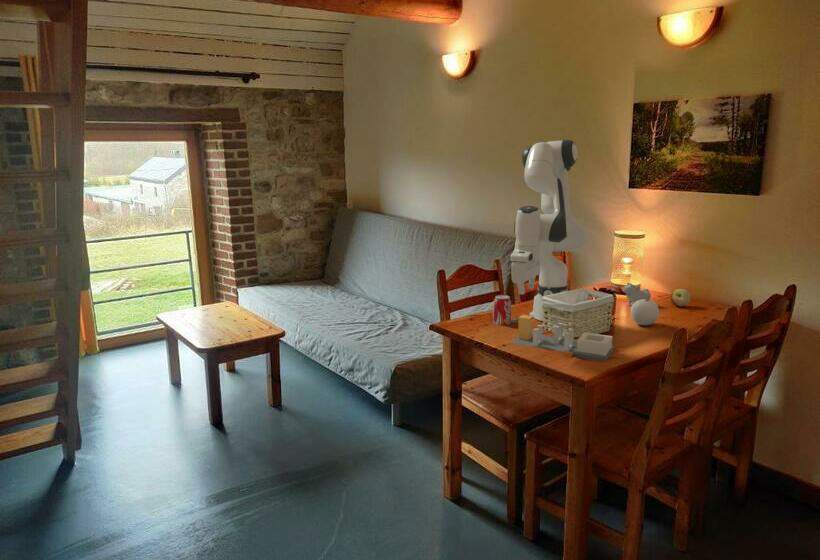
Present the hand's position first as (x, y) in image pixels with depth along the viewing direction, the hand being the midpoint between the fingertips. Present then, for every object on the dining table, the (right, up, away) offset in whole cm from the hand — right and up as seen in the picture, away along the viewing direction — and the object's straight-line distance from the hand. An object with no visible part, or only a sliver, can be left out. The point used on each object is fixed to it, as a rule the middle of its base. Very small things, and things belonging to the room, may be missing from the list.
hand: (526, 291), depth 215 cm
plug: (-1, -17, +5) cm, 18 cm away
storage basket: (+22, -16, +15) cm, 31 cm away
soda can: (-5, -14, +24) cm, 29 cm away
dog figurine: (+58, -8, +50) cm, 77 cm away
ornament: (+51, -14, +23) cm, 57 cm away
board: (+11, -20, -3) cm, 23 cm away
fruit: (+77, -8, +49) cm, 91 cm away
